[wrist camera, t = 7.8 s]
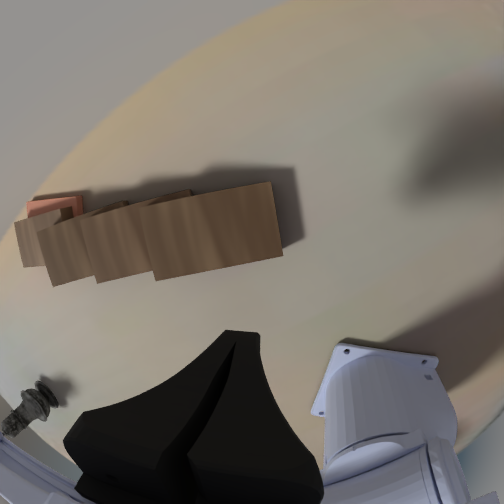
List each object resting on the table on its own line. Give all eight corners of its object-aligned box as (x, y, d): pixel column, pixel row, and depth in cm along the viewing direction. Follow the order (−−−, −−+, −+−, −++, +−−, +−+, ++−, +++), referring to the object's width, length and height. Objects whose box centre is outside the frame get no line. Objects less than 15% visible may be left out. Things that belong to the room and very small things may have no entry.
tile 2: (188, 189, 19) (79, 220, 19) (205, 258, 20) (97, 283, 20) (191, 189, 21) (88, 218, 20) (205, 253, 22) (104, 277, 21)
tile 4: (59, 208, 21) (14, 222, 23) (70, 263, 22) (23, 267, 24) (72, 206, 23) (24, 219, 24) (82, 258, 24) (33, 263, 26)
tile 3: (122, 200, 20) (36, 232, 20) (139, 262, 21) (52, 286, 21) (127, 200, 22) (45, 229, 21) (143, 257, 23) (60, 281, 22)
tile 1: (270, 181, 18) (138, 208, 18) (283, 255, 19) (155, 280, 19) (266, 182, 20) (144, 206, 19) (278, 251, 21) (160, 274, 20)
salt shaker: (65, 412, 34) (21, 457, 22) (46, 406, 35) (4, 445, 24) (46, 381, 32) (-4, 425, 21) (29, 377, 34) (-18, 415, 22)
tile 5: (76, 196, 22) (26, 201, 24) (81, 250, 23) (31, 246, 25) (87, 194, 24) (37, 199, 25) (92, 245, 25) (41, 243, 27)
